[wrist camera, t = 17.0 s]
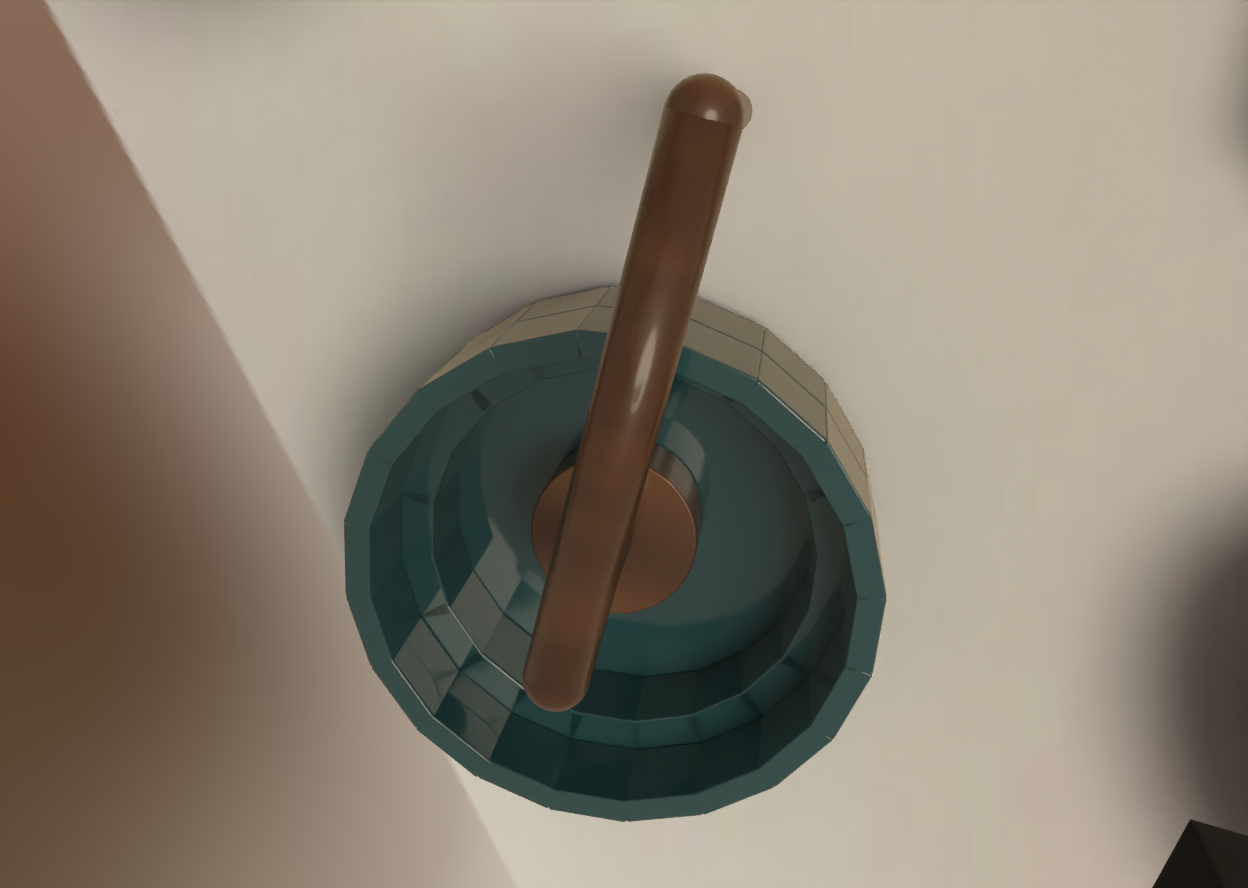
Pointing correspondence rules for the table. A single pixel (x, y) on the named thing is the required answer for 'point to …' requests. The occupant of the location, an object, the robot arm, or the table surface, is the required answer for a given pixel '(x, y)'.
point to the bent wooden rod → (634, 411)
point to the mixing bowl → (632, 642)
